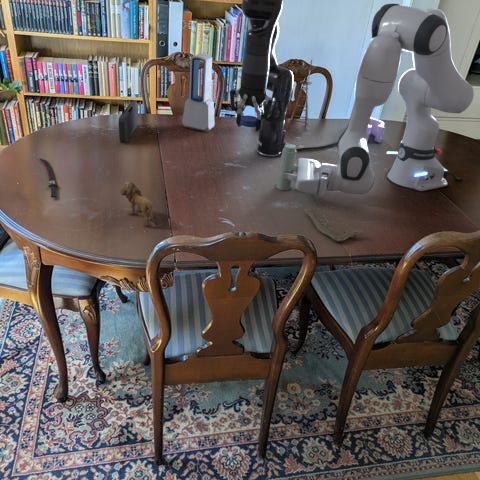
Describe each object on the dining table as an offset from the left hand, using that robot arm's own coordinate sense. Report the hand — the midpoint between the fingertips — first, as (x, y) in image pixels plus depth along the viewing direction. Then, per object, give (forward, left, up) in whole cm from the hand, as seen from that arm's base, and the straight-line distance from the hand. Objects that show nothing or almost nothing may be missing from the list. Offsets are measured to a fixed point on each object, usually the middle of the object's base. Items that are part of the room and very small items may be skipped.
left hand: (248, 128), depth 140 cm
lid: (0, 0, +3) cm, 3 cm away
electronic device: (-18, -61, -23) cm, 68 cm away
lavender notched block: (-88, -28, -23) cm, 95 cm away
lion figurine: (+35, -2, -23) cm, 42 cm away
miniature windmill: (-63, -47, -23) cm, 82 cm away
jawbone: (-15, +27, -23) cm, 39 cm away
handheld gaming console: (+12, -65, -23) cm, 70 cm away
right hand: (-17, 0, -17) cm, 24 cm away
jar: (-17, 0, -23) cm, 29 cm away
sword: (+51, -37, -23) cm, 68 cm away
